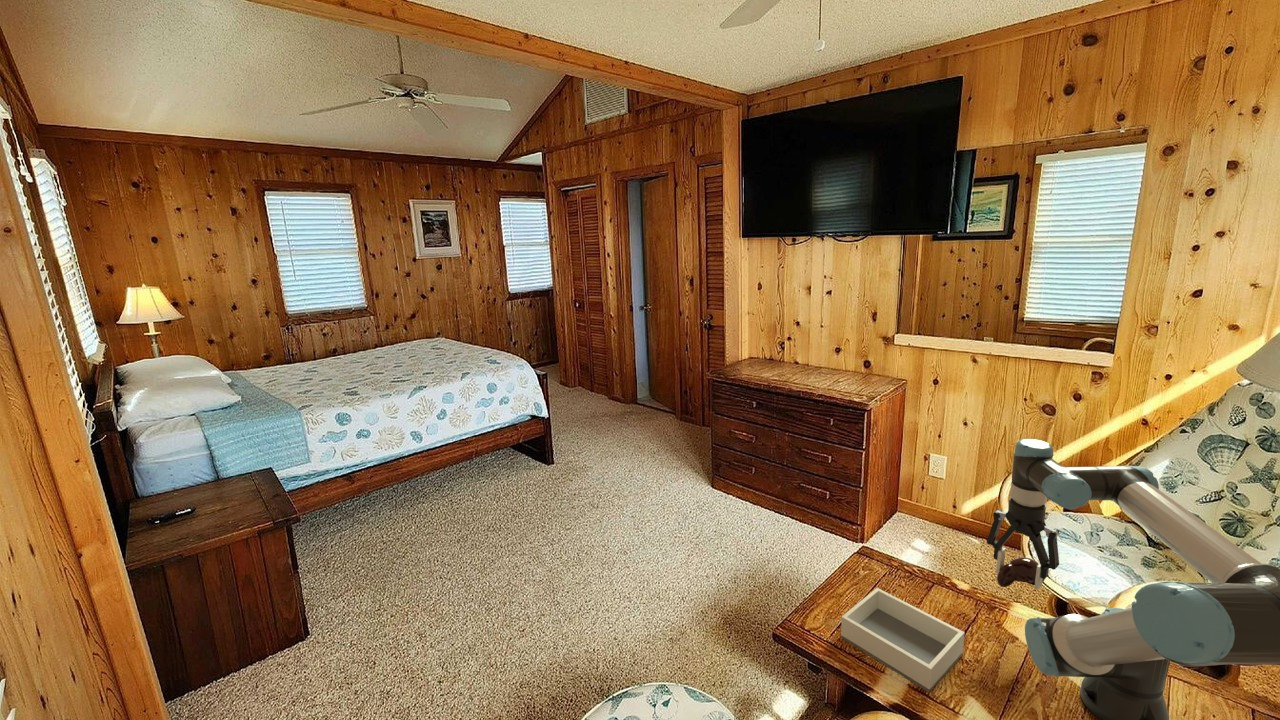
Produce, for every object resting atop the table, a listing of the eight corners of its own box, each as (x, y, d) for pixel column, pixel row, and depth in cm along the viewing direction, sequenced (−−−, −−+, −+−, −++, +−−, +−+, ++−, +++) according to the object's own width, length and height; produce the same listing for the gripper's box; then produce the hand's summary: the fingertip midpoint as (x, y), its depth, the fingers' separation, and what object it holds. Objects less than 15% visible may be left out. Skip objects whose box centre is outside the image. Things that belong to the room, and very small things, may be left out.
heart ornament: (1037, 581, 144) (1056, 583, 134) (989, 586, 146) (1004, 589, 137) (1028, 555, 147) (1045, 555, 137) (981, 561, 149) (994, 562, 139)
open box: (962, 654, 141) (964, 632, 140) (929, 692, 131) (931, 669, 129) (876, 607, 160) (876, 587, 158) (841, 638, 150) (841, 616, 148)
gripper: (1084, 510, 128) (1072, 592, 134) (988, 481, 145) (981, 555, 150) (1073, 522, 124) (1061, 606, 129) (975, 490, 140) (968, 566, 146)
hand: (1018, 578), depth 140 cm, fingers closed on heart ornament, 8 cm apart
